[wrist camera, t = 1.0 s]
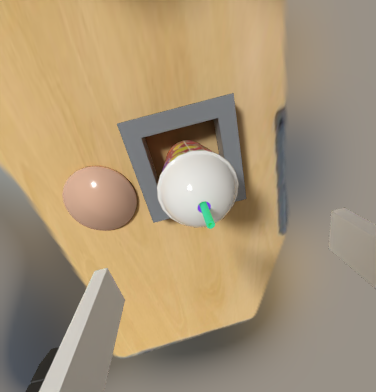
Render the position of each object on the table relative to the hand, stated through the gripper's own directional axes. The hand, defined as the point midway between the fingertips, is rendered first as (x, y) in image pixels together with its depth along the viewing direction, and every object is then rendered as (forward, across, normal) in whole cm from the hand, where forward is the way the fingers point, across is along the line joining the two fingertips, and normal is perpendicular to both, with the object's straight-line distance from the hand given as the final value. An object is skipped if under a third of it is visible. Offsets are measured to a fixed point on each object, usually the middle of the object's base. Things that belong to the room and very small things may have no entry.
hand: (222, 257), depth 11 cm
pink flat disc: (+23, -16, -3) cm, 28 cm away
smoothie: (+23, 0, 0) cm, 23 cm away
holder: (+23, 0, 0) cm, 23 cm away
